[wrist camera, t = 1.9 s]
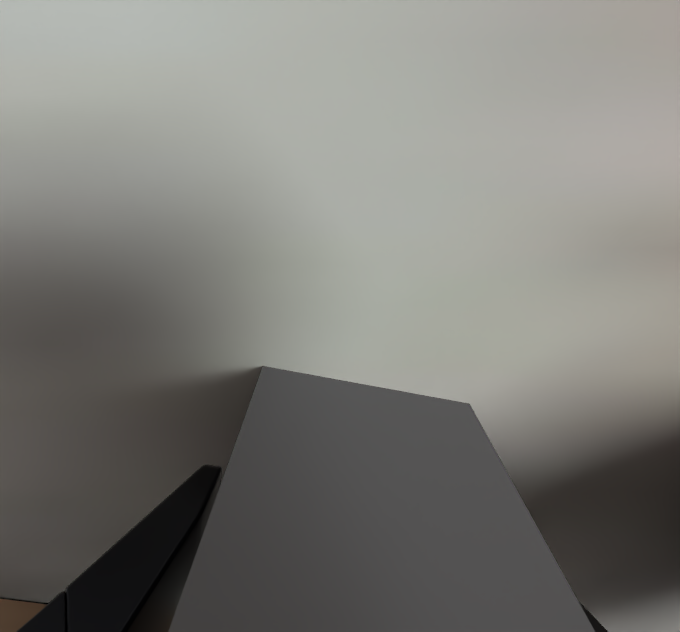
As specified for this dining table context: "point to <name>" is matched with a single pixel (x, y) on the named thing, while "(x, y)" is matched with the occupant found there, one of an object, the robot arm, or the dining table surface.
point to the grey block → (369, 522)
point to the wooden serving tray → (16, 614)
